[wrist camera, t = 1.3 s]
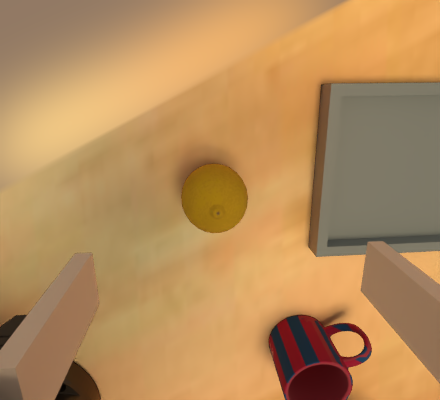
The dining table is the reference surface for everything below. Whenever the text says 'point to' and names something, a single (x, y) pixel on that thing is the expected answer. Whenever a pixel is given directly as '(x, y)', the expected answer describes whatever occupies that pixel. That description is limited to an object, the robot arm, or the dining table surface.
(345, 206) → the tray
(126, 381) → the dining table surface
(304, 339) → the mug
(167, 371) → the dining table surface
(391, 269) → the robot arm
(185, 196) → the lemon
